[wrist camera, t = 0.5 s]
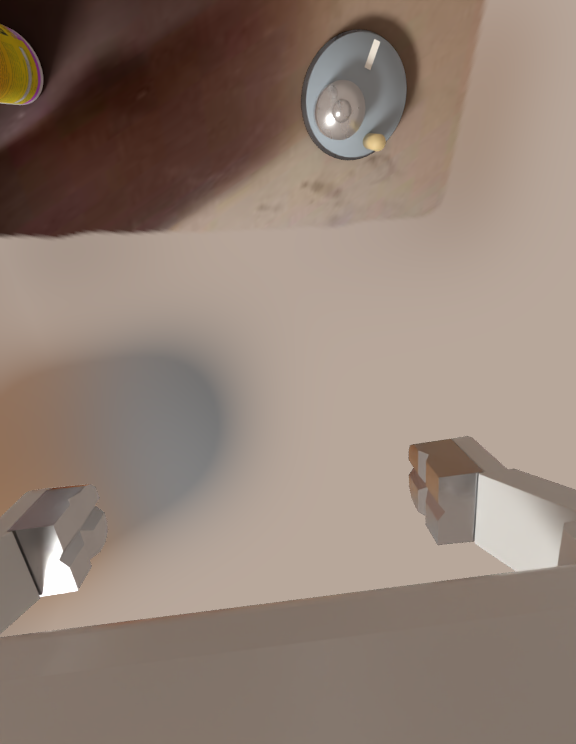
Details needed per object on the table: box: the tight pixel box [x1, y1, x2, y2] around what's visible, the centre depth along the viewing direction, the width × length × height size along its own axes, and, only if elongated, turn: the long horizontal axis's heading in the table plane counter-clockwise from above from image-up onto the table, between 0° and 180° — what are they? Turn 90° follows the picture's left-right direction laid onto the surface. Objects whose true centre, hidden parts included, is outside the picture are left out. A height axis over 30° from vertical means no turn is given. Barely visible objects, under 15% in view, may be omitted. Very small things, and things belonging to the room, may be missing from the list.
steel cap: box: [313, 80, 365, 140], centre depth 40 cm, size 5×5×4 cm
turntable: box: [306, 32, 407, 157], centre depth 40 cm, size 11×11×5 cm
